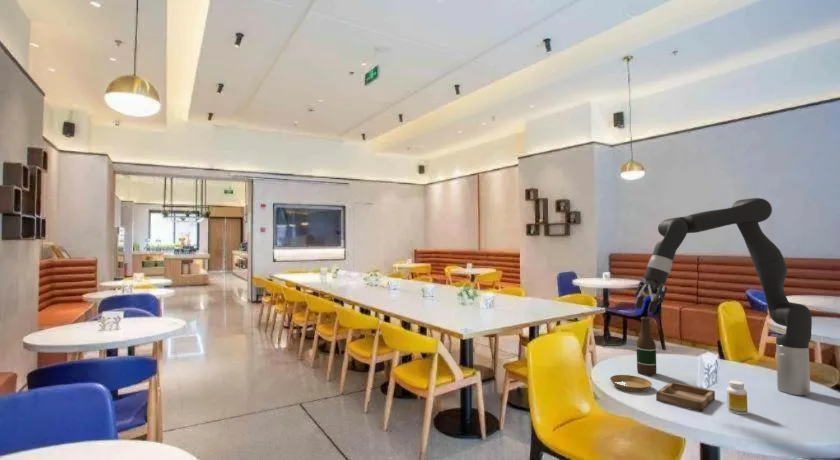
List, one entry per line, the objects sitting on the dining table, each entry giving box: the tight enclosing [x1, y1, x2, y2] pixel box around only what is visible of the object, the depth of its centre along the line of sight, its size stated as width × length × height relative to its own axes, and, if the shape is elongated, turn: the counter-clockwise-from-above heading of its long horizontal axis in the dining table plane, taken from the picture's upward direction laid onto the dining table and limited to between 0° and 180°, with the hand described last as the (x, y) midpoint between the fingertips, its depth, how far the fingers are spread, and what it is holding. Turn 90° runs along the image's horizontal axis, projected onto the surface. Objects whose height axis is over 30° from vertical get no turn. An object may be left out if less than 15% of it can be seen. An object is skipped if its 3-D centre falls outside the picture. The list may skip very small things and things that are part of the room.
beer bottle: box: [636, 316, 657, 377], centre depth 183 cm, size 8×8×24 cm
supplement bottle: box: [726, 380, 749, 415], centre depth 142 cm, size 5×5×10 cm
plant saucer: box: [609, 374, 653, 393], centre depth 166 cm, size 15×15×3 cm
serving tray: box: [655, 381, 716, 413], centre depth 152 cm, size 16×14×3 cm
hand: (643, 310), depth 158 cm, fingers open, 8 cm apart
